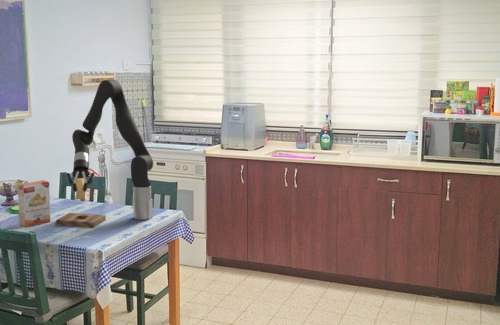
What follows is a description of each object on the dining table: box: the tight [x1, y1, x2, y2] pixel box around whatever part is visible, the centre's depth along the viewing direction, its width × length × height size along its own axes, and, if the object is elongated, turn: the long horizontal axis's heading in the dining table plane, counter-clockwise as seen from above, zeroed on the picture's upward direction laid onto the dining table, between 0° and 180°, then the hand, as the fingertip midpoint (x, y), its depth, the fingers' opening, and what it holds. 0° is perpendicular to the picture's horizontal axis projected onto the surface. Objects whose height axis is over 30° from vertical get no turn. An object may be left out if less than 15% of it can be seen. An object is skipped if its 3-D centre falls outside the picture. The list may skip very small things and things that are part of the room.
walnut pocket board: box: [55, 212, 107, 228], centre depth 279 cm, size 20×14×2 cm
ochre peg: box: [75, 178, 86, 200], centre depth 276 cm, size 4×4×10 cm
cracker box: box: [17, 179, 51, 228], centre depth 274 cm, size 14×6×21 cm, turn 143°
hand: (79, 190), depth 275 cm, fingers closed on ochre peg, 4 cm apart
